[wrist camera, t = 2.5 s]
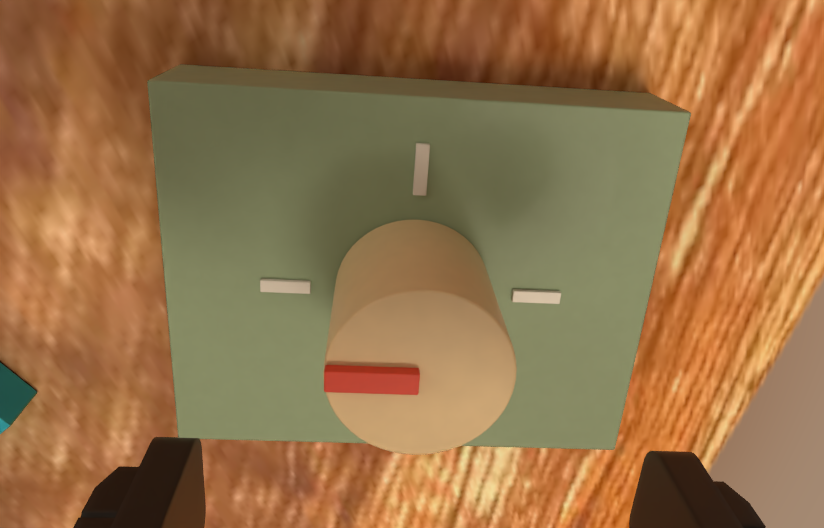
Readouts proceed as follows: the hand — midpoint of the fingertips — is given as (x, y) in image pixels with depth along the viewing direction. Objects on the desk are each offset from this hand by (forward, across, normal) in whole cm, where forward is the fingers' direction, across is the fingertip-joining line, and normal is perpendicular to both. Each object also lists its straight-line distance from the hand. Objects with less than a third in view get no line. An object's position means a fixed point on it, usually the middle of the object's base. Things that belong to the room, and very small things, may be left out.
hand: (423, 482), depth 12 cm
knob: (+8, 0, 0) cm, 8 cm away
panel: (+11, 0, 0) cm, 11 cm away
